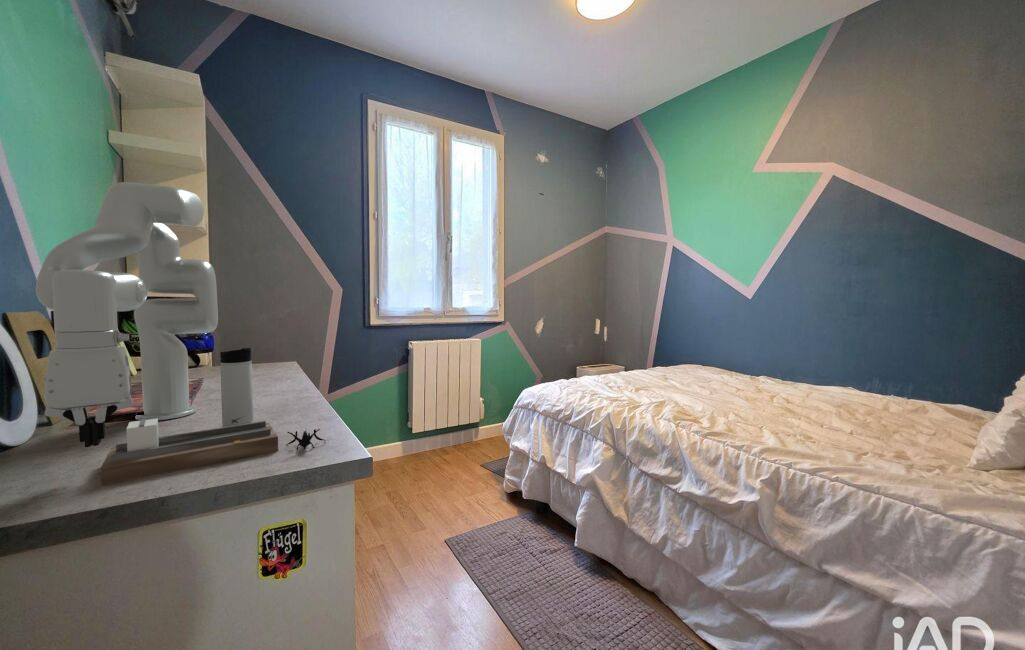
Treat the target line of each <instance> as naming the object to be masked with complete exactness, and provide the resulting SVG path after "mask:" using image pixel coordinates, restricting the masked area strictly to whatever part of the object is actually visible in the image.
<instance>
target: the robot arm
mask: <svg viewBox="0 0 1025 650" xmlns="http://www.w3.org/2000/svg"><path fill="white" fill-rule="evenodd" d="M102 200H103V201H102V203H101V206H100V209H99V211H98V214H97V217H96V219H95V222H94V226H93V227H92V228H90V229H87V230H85V231H83V232H80V233H78V234H76V235H74V236H72V237H70V238H68V239H66V240H65V241H62V242H60V243H58V245H56V246H55V247H54V248H52V249H51V250H50V251H49V252H48V253H47V255H46V257H45V259H44V260H43V263H42V265H41V268H40V269H39V273H38V275H37V279H36V283H35V295H36V298H37V299H38V302H39V303H40V304H41V305H42V306H43V307H45V308H47V309H49V310H51V311H53V323H54V324H53V327H54V341H55V342H54V343H55V349H52V350H49V354H48V359H47V364H46V369H45V379H44V380H45V384H44V385H45V386H44V402H45V411H44V416H46V417H52V418H54V417H55V418H65V419H67V420H70V421H72V422H73V423H75V425H76V426H78V435H79V443H84V448H90V447H92V446H93V447H98V446H99V445H100V443H101V442H102V440H104V439H106V420H107V419H109V417H110V416H112V415H113V414H114V413H115V412H117V411H122V410H125V409H128V408H131V407H132V406H133V405H134V400H133V398H132V377H131V376H132V375H131V371H130V362H129V358H128V357H129V356H128V355H127V354H128V353H127V351H126V348H125V346H119V344H121V343H122V342H123V343H124V342H127V341H130V333H124V332H120V331H119V329H118V327H119V326H118V312H130V311H133V318H134V323H135V325H136V329H137V333H138V339H139V340H138V341H139V348H140V350H139V351H140V366H141V367H140V368H141V388H142V389H141V392H142V393H141V394H142V411H144V415H136V414H135V415H136V416H135V418H134V419H135V420H136V421H141V420H142V419H146V420H149V419H157V418H158V421H164V420H170V419H171V420H172V419H177V418H178V419H179V418H182V417H186V416H190V415H192V414H194V413H196V412H197V406H196V405H193V404H192V405H191V404H190V390H189V389H190V388H189V386H190V385H189V384H190V383H189V362H188V361H189V360H188V358H189V356H188V349H187V347H186V345H185V344H184V343H183V342H182V341H181V340H180V339H179V338H178V337H177V336H176V335H183V334H186V335H187V334H191V335H192V334H208V333H212V332H214V331H215V330H216V329H217V327H218V324H219V311H218V310H219V307H218V290H217V278H216V277H217V276H216V272H215V268H214V267H213V265H212V264H211V263H210V262H208V261H206V260H202V259H195V258H193V259H191V258H190V259H189V258H182V256H181V251H180V240H179V238H178V236H177V235H176V234H175V232H174V231H172V230H171V229H170V227H169V226H168V225H175V226H176V225H177V226H186V227H197V226H198V225H200V224H201V222H202V221H203V218H204V215H205V214H204V205H203V202H202V200H201V198H200V197H199V196H198V195H197V194H196V193H194V192H192V191H189V190H186V189H184V188H183V189H182V188H180V187H174V186H167V185H160V184H152V183H151V184H150V183H142V182H134V181H132V182H131V181H122V182H121V181H120V182H116V183H114V184H112V185H111V186H109V188H107V190H106V192H105V195H104V198H103V199H102ZM133 255H136V256H137V268H138V269H137V270H138V276H137V275H134V274H132V273H129V272H121V271H103V270H95V269H94V270H93V269H86V268H88V267H91V266H93V265H96V264H100V263H104V262H107V261H108V262H109V261H112V260H117V259H122V258H126V257H129V256H133ZM148 293H152V294H164V295H166V294H168V295H193V296H194V297H195V298H150V299H147V298H148ZM88 407H96V412H95V417H94V418H93V420H92V419H91V417H89V414H88V410H87V408H88Z"/></svg>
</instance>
